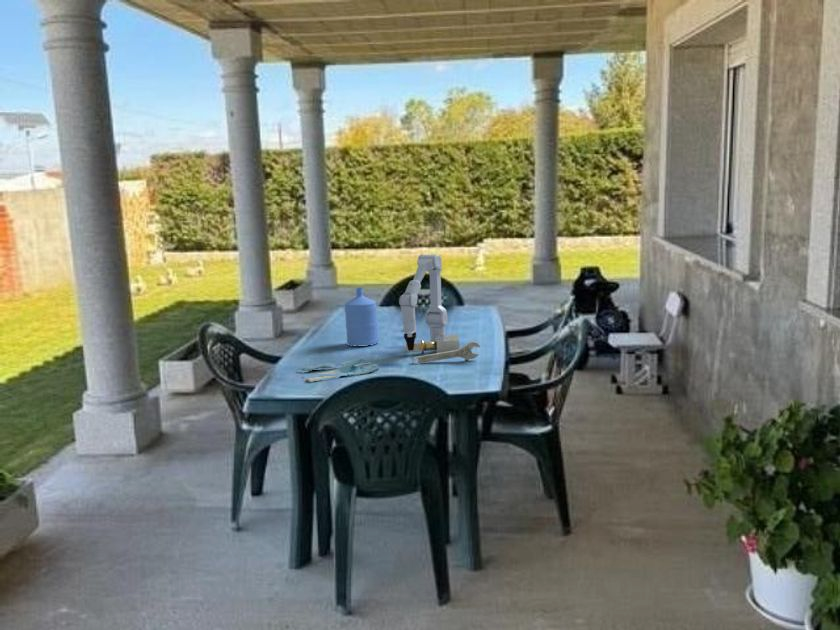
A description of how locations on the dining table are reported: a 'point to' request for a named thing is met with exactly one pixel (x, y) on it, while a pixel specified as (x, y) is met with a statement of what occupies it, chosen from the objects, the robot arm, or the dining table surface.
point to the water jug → (361, 320)
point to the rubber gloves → (343, 369)
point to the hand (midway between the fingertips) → (410, 349)
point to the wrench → (450, 354)
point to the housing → (447, 343)
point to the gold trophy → (424, 346)
